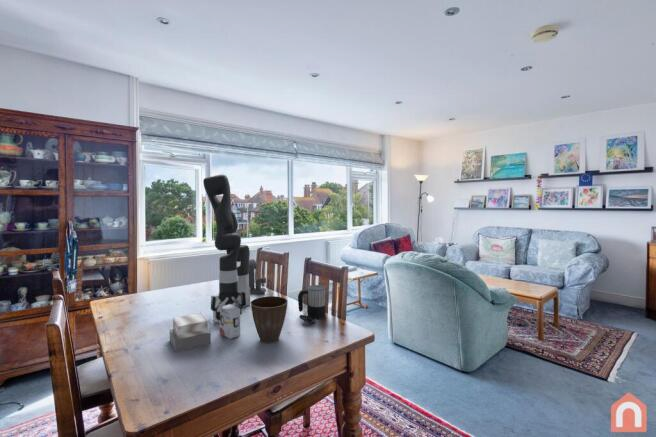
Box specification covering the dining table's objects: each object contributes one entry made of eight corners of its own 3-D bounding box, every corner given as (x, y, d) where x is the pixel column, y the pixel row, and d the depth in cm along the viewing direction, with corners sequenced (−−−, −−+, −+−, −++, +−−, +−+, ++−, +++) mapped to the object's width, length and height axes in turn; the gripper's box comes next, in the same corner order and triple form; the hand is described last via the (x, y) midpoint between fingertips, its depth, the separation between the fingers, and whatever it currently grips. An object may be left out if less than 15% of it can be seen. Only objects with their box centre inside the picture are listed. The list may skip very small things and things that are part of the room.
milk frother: (323, 312, 170) (323, 284, 169) (331, 324, 154) (331, 292, 153) (296, 315, 166) (296, 285, 165) (301, 326, 151) (300, 294, 150)
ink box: (219, 334, 143) (218, 307, 142) (229, 330, 147) (229, 304, 146) (230, 339, 137) (230, 311, 137) (241, 335, 141) (240, 308, 141)
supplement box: (235, 318, 162) (234, 292, 161) (225, 323, 155) (225, 297, 154) (222, 316, 164) (221, 291, 163) (212, 321, 157) (212, 295, 156)
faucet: (268, 287, 219) (268, 257, 217) (265, 294, 203) (264, 261, 202) (240, 287, 218) (239, 257, 216) (234, 294, 202) (234, 262, 201)
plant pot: (294, 335, 141) (294, 298, 140) (275, 350, 127) (274, 309, 126) (265, 330, 147) (264, 294, 146) (243, 343, 133) (242, 304, 133)
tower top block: (201, 324, 142) (201, 312, 142) (207, 332, 133) (207, 320, 133) (173, 330, 136) (172, 318, 136) (178, 339, 127) (177, 326, 126)
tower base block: (202, 334, 144) (202, 322, 144) (210, 345, 133) (210, 332, 133) (169, 341, 137) (169, 329, 136) (175, 353, 126) (175, 340, 126)
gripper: (241, 276, 148) (242, 312, 148) (208, 280, 140) (209, 318, 141) (247, 279, 141) (248, 317, 142) (213, 284, 134) (214, 324, 134)
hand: (228, 318), depth 141 cm, fingers open, 8 cm apart
